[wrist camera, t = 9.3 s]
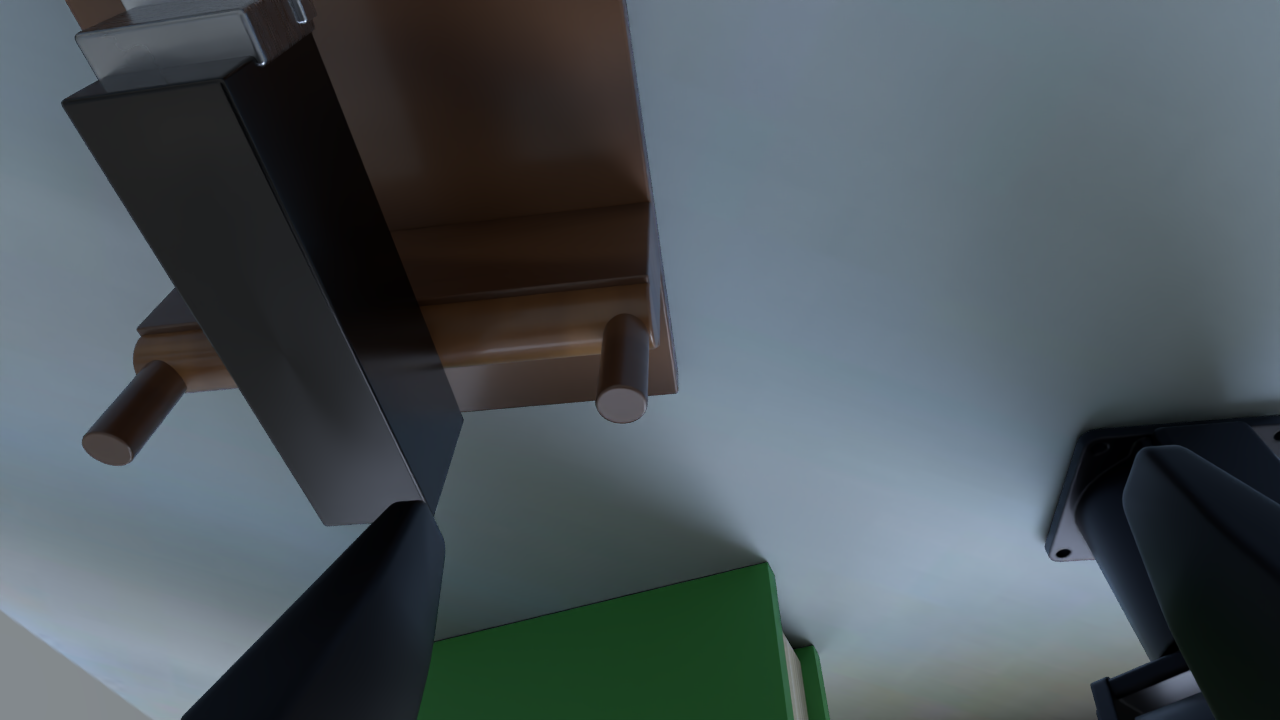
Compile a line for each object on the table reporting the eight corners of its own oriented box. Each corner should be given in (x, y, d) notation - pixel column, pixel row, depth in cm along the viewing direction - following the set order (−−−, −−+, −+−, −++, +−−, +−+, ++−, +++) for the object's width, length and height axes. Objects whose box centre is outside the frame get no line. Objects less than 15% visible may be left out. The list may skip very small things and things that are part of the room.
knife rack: (678, 373, 23) (682, 575, 18) (318, 406, 25) (211, 604, 19) (534, -649, 11) (388, -1116, 5) (-165, -478, 12) (-906, -697, 7)
